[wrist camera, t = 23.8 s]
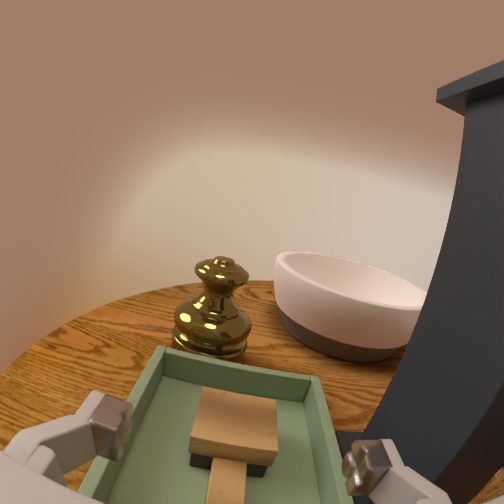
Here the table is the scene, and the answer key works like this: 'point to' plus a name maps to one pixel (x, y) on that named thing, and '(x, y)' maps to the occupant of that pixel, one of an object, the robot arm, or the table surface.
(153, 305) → the table surface
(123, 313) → the table surface
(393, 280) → the bowl
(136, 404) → the tray
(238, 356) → the brass bell weight
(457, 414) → the stand
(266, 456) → the brush
